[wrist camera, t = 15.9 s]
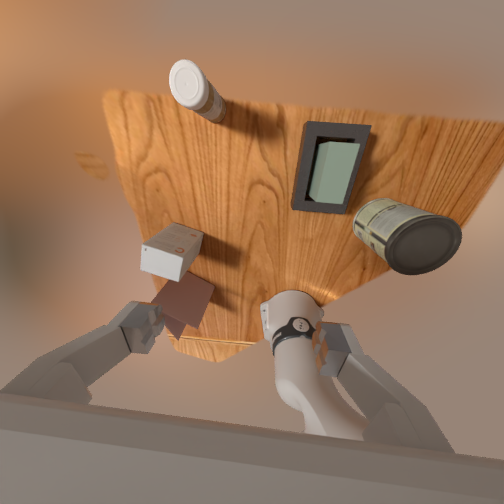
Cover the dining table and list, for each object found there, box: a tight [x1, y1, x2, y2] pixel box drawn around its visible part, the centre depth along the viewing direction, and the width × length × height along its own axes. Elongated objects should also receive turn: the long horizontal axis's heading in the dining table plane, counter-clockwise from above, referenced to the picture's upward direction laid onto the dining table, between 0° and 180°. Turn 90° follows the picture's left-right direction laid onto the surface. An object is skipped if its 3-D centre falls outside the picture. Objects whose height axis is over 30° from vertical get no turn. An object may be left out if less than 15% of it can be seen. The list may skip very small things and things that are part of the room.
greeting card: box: [151, 271, 215, 340], centre depth 46 cm, size 11×7×15 cm, turn 22°
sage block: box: [307, 142, 360, 204], centre depth 34 cm, size 4×9×9 cm, turn 176°
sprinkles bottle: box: [169, 60, 226, 123], centre depth 28 cm, size 5×5×14 cm
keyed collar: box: [291, 121, 372, 214], centre depth 36 cm, size 15×10×4 cm
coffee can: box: [353, 198, 462, 275], centre depth 35 cm, size 10×10×14 cm
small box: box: [141, 222, 204, 282], centre depth 41 cm, size 8×6×13 cm
